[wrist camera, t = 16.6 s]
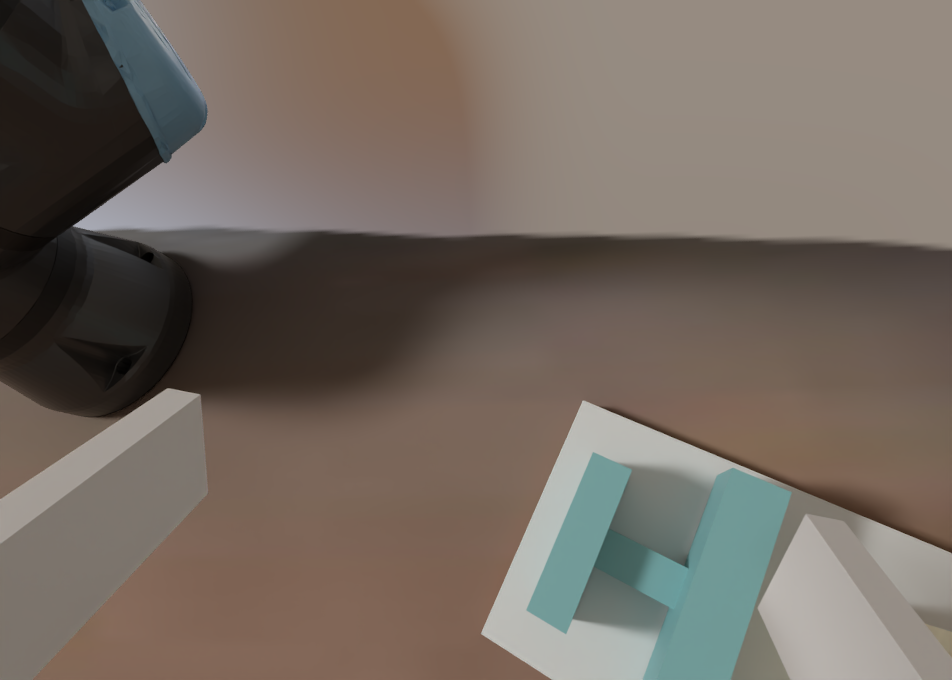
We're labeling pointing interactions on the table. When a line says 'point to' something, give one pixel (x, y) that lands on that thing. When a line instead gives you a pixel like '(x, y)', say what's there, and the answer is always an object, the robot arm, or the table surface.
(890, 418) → the table surface
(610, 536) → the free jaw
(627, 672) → the bed
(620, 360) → the table surface
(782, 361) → the table surface
